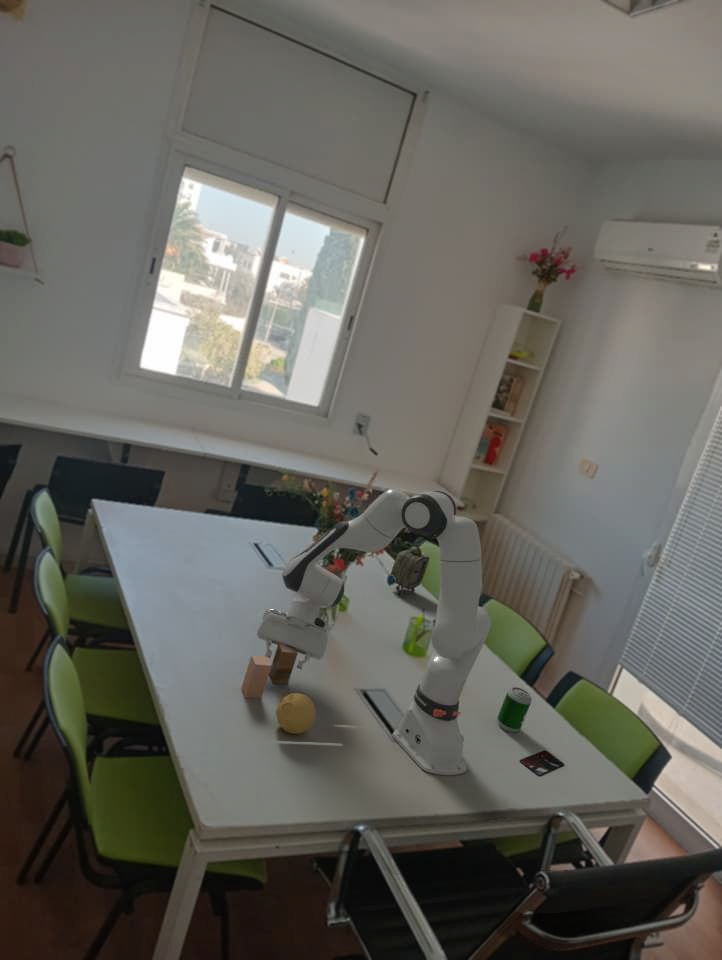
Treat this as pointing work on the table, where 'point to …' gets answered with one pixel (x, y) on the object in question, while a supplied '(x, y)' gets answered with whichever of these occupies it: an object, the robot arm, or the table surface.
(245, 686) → the terracotta pillar
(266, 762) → the table surface
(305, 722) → the stress ball
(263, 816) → the table surface
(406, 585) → the rolling backpack
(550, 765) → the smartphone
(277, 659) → the walnut pillar
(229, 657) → the table surface
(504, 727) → the soda can
